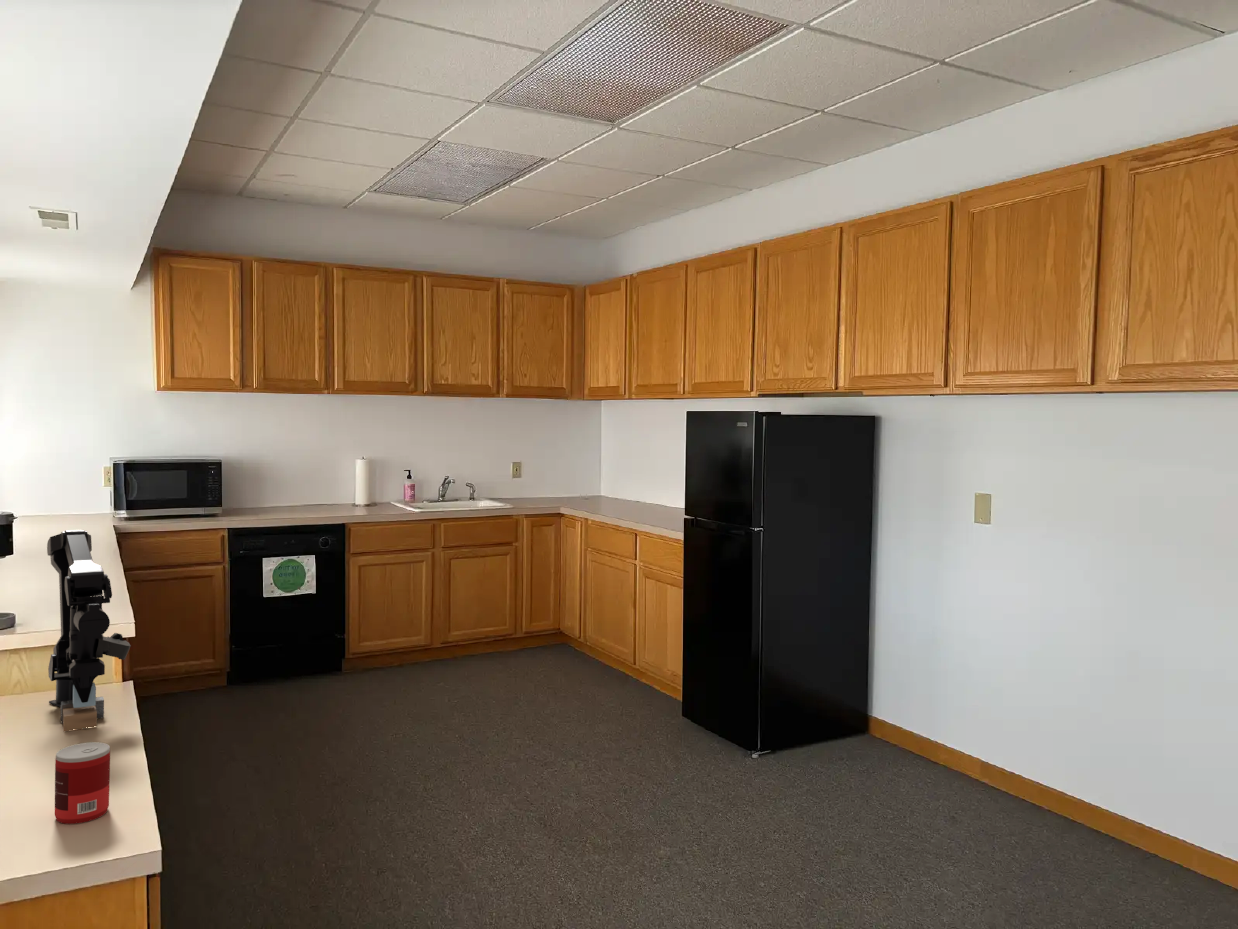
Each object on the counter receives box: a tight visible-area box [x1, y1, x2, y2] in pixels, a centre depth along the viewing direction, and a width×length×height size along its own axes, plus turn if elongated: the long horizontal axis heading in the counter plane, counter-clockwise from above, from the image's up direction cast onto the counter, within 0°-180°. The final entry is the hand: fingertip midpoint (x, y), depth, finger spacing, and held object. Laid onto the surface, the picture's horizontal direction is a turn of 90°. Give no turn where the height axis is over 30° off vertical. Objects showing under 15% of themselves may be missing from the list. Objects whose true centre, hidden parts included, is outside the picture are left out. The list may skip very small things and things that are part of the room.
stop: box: [60, 696, 105, 724], centre depth 196 cm, size 3×8×4 cm, turn 124°
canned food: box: [54, 741, 111, 825], centre depth 149 cm, size 8×8×11 cm
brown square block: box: [62, 706, 98, 732], centre depth 192 cm, size 6×6×4 cm
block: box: [73, 682, 97, 708], centre depth 192 cm, size 4×4×4 cm
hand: (84, 699), depth 192 cm, fingers closed on block, 4 cm apart
